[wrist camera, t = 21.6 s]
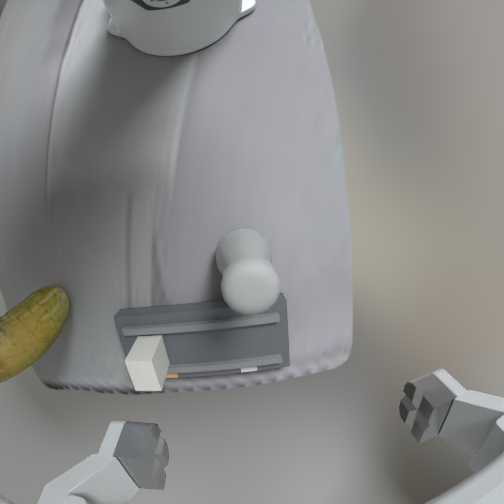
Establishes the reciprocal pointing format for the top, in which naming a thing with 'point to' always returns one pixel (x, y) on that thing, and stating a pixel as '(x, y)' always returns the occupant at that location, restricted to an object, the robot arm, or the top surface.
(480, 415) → the robot arm
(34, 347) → the vegetable
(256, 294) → the salt shaker
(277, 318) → the switch plate
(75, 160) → the top surface
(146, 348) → the slider knob
